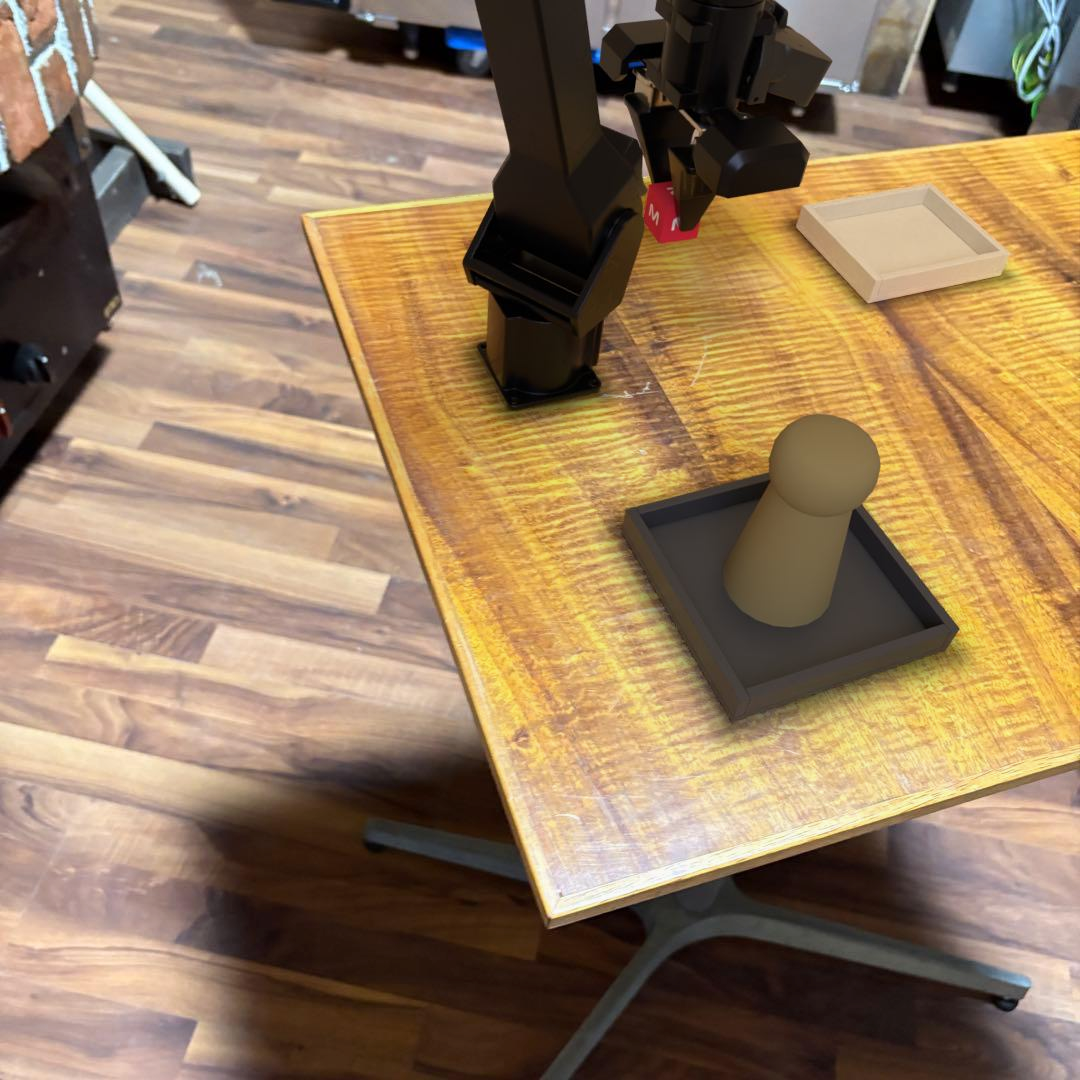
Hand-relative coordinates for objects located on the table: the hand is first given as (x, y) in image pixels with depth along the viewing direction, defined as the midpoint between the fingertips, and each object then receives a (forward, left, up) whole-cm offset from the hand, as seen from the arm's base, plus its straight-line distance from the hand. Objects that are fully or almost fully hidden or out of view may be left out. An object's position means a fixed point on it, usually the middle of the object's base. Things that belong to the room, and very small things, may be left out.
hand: (675, 217), depth 74 cm
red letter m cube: (0, 0, -1) cm, 1 cm away
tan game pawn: (-8, -30, -3) cm, 31 cm away
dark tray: (-8, -30, -4) cm, 31 cm away
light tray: (+18, -4, -4) cm, 19 cm away
